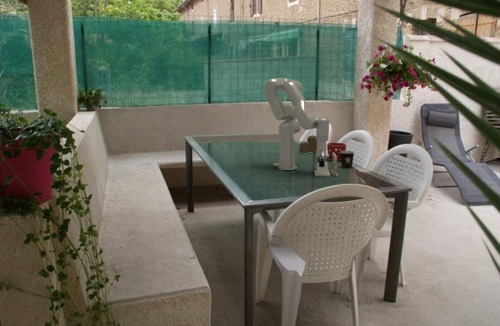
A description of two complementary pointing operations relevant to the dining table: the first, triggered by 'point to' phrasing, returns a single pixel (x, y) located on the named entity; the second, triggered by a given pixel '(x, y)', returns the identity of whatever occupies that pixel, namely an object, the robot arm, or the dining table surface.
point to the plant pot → (332, 148)
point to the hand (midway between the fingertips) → (321, 165)
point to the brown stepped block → (309, 145)
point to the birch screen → (334, 165)
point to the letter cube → (322, 169)
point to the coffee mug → (346, 158)
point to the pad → (322, 174)
